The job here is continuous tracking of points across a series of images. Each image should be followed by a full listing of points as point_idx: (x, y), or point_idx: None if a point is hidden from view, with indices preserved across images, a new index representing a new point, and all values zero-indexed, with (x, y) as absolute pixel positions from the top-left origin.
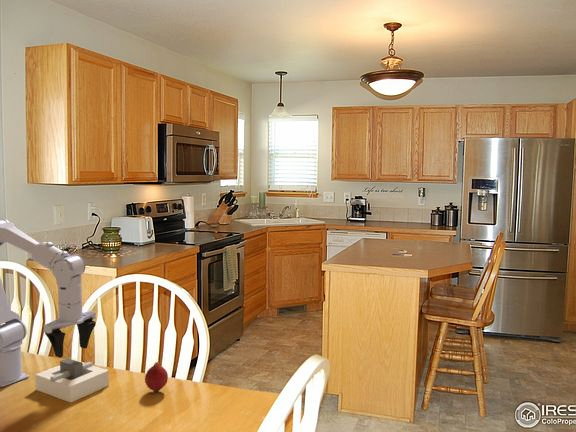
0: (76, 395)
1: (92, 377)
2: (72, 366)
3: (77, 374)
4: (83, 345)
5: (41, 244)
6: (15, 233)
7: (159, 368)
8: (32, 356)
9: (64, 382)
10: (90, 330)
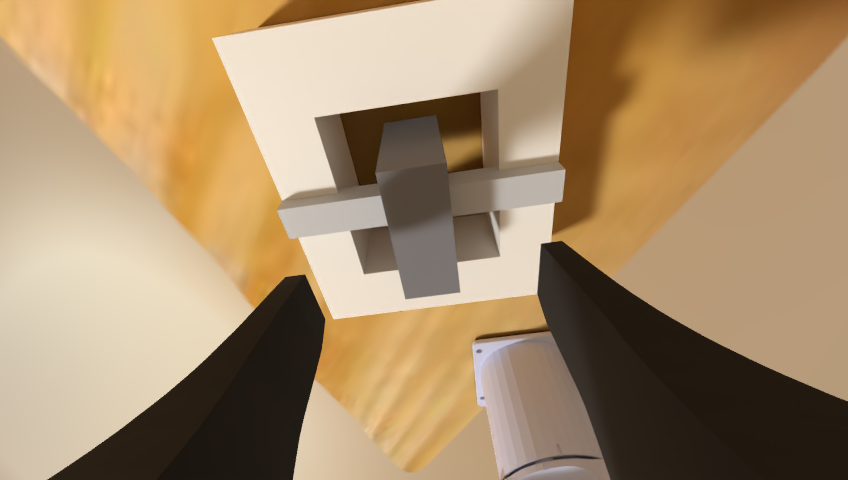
0: None
1: (367, 11)
2: (447, 184)
3: (422, 137)
4: (306, 308)
5: None
6: None
7: None
8: (383, 431)
9: (543, 91)
10: (151, 433)
